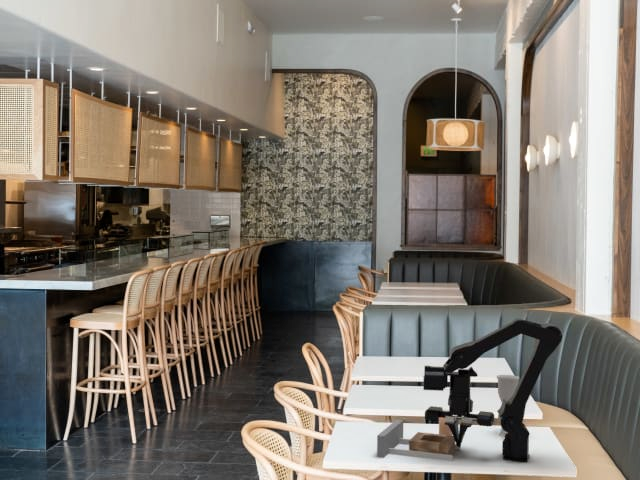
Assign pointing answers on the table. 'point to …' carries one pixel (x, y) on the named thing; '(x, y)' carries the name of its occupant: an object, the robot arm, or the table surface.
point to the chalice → (506, 390)
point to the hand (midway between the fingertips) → (458, 446)
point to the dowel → (444, 427)
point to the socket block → (432, 443)
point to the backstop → (395, 436)
